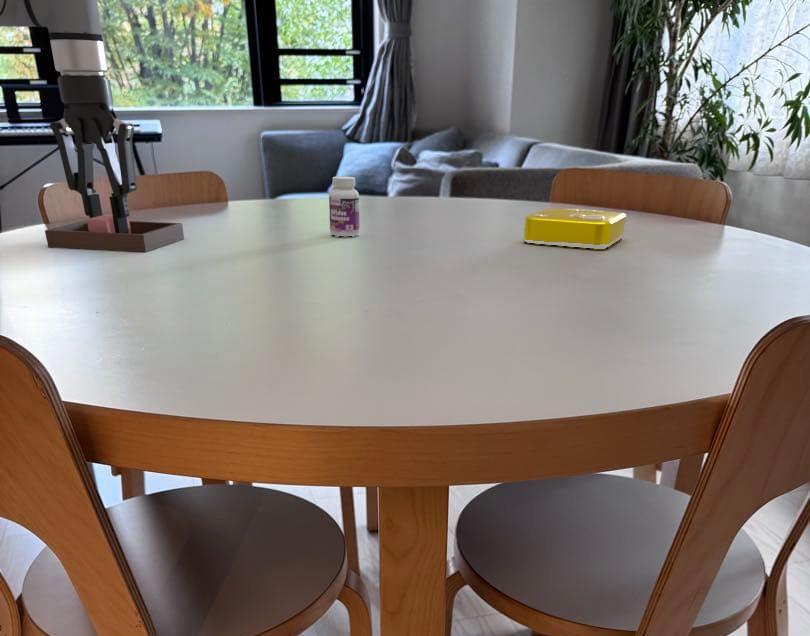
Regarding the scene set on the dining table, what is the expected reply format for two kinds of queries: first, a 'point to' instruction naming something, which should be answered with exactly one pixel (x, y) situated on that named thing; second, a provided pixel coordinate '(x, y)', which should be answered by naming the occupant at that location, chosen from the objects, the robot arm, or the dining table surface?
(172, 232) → the tray
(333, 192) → the pill bottle
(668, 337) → the dining table surface
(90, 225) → the eraser
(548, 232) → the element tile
